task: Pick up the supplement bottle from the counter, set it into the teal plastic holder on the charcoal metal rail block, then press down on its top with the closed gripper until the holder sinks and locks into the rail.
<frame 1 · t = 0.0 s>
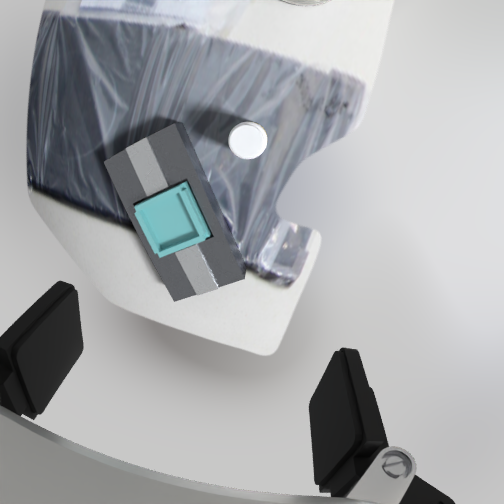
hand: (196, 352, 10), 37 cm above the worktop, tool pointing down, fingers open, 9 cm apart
rail block: (179, 211, 48), on the worktop
supplement bottle: (250, 138, 43), on the worktop
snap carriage: (171, 219, 44), point 4 cm above the worktop, slide at 0.0 cm
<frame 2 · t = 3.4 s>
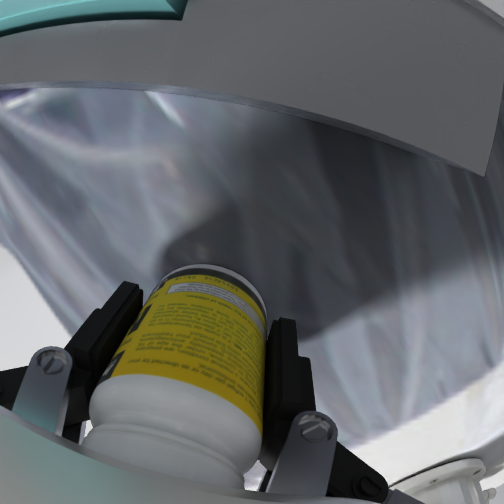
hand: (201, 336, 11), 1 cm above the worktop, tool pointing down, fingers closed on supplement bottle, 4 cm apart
supplement bottle: (209, 312, 13), on the worktop, touching gripper
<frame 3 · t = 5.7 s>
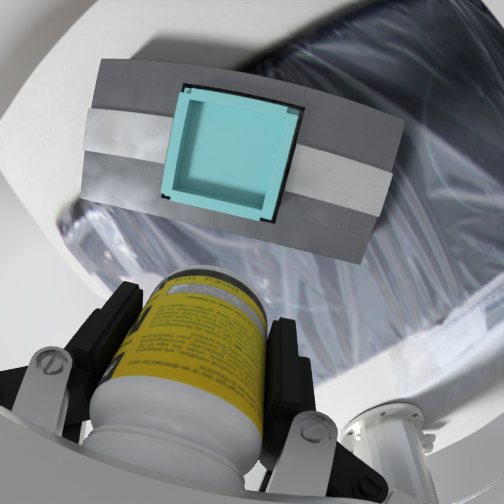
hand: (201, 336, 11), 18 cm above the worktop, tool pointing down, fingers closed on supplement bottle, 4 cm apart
rail block: (235, 148, 26), on the worktop
supplement bottle: (209, 312, 13), point 16 cm above the worktop, touching gripper
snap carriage: (229, 152, 22), point 4 cm above the worktop, slide at 0.0 cm
when the fingers open (8 cm above the worktop, at t = 8.2 s): supplement bottle drops 3 cm, resting on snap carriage.
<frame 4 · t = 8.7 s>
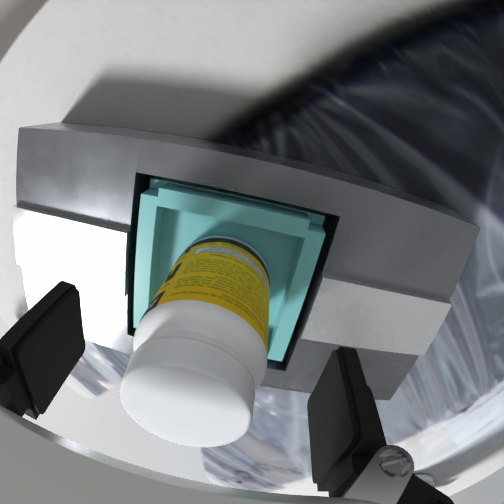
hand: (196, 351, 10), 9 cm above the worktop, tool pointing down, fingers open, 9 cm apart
rail block: (228, 251, 19), on the worktop
supplement bottle: (222, 276, 16), point 3 cm above the worktop, touching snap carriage
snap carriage: (221, 272, 16), point 3 cm above the worktop, slide at 1.5 cm, touching supplement bottle, rail block
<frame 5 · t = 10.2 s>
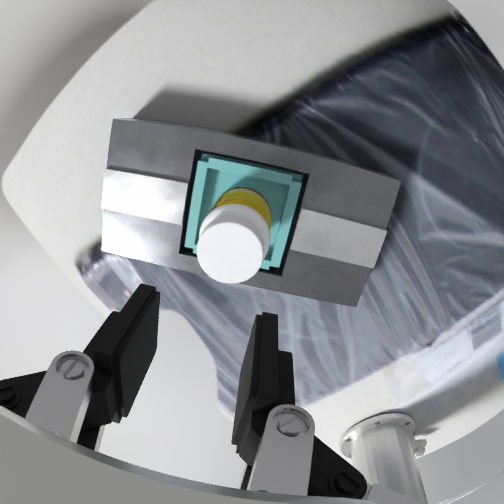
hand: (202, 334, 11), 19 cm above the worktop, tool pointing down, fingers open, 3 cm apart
rail block: (244, 202, 29), on the worktop
supplement bottle: (242, 213, 27), point 3 cm above the worktop, touching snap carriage
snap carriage: (241, 210, 27), point 3 cm above the worktop, slide at 1.5 cm, touching supplement bottle, rail block
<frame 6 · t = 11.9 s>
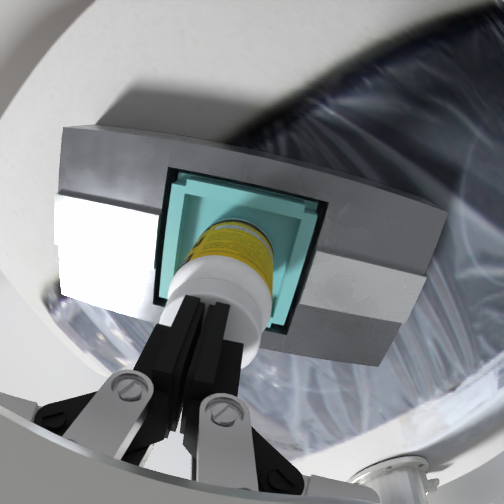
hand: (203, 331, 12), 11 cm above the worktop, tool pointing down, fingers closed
rail block: (238, 235, 22), on the worktop
supplement bottle: (235, 253, 20), point 3 cm above the worktop, touching gripper, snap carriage
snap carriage: (234, 249, 20), point 3 cm above the worktop, slide at 1.5 cm, touching supplement bottle, rail block
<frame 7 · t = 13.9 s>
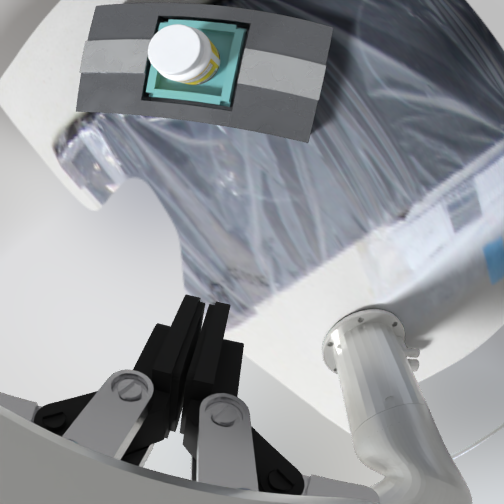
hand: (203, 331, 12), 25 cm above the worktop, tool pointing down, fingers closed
rail block: (201, 65, 29), on the worktop
supplement bottle: (196, 63, 26), point 3 cm above the worktop, touching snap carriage
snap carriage: (196, 61, 27), point 3 cm above the worktop, slide at 1.5 cm, touching supplement bottle, rail block
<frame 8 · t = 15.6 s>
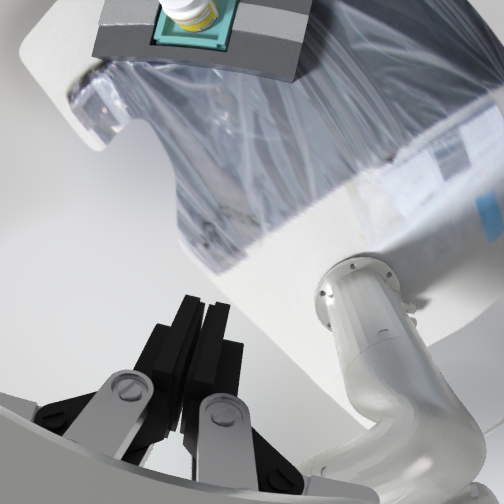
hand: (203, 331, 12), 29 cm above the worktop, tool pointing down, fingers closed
rail block: (203, 22, 31), on the worktop
supplement bottle: (198, 16, 28), point 3 cm above the worktop, touching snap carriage
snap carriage: (198, 16, 28), point 3 cm above the worktop, slide at 1.5 cm, touching supplement bottle, rail block
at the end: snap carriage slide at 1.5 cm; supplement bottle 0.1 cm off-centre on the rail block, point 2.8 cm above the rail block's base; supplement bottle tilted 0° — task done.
